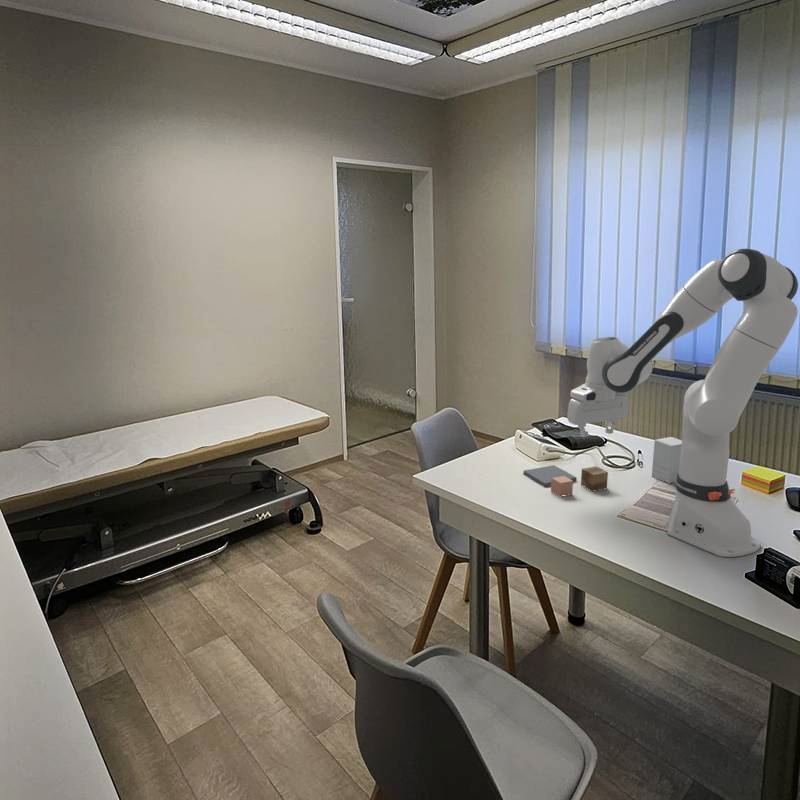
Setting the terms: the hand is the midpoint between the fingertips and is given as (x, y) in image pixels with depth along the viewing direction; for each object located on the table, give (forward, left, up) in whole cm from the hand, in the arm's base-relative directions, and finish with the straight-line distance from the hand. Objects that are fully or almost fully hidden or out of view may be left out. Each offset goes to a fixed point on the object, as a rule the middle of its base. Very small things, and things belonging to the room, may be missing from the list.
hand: (596, 434), depth 186 cm
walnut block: (0, 0, -17) cm, 17 cm away
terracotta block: (0, +12, -17) cm, 21 cm away
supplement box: (-4, -26, -17) cm, 32 cm away
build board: (+12, +8, -17) cm, 22 cm away
